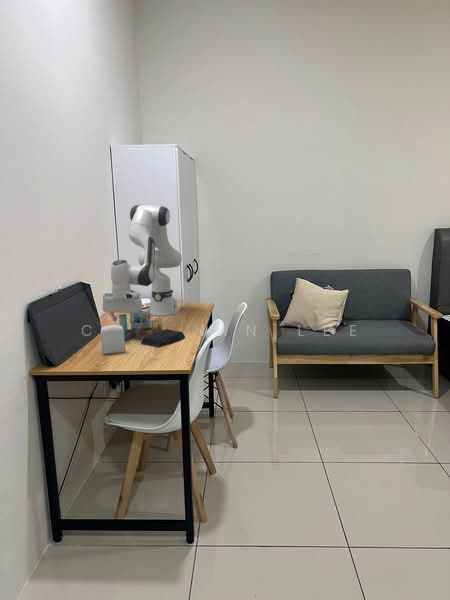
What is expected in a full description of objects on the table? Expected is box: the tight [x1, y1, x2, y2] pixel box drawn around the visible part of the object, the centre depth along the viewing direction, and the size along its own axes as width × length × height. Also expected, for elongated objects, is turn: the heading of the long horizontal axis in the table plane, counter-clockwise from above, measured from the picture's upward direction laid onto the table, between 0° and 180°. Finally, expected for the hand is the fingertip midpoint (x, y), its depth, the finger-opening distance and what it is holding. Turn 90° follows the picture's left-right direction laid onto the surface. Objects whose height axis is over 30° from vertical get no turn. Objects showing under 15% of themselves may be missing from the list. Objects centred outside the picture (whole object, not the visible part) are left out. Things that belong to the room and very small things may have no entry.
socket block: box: [135, 327, 157, 340], centre depth 227 cm, size 8×8×4 cm
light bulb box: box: [129, 308, 152, 330], centre depth 238 cm, size 11×7×11 cm, turn 164°
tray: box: [124, 328, 137, 343], centre depth 227 cm, size 14×9×2 cm, turn 164°
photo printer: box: [100, 324, 126, 355], centre depth 203 cm, size 10×4×12 cm, turn 105°
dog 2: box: [154, 317, 163, 331], centre depth 237 cm, size 3×3×7 cm
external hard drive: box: [140, 328, 186, 349], centre depth 220 cm, size 13×19×4 cm
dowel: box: [118, 313, 128, 337], centre depth 226 cm, size 4×4×11 cm
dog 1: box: [150, 319, 158, 331], centre depth 232 cm, size 3×3×7 cm
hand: (123, 321), depth 226 cm, fingers open, 8 cm apart
